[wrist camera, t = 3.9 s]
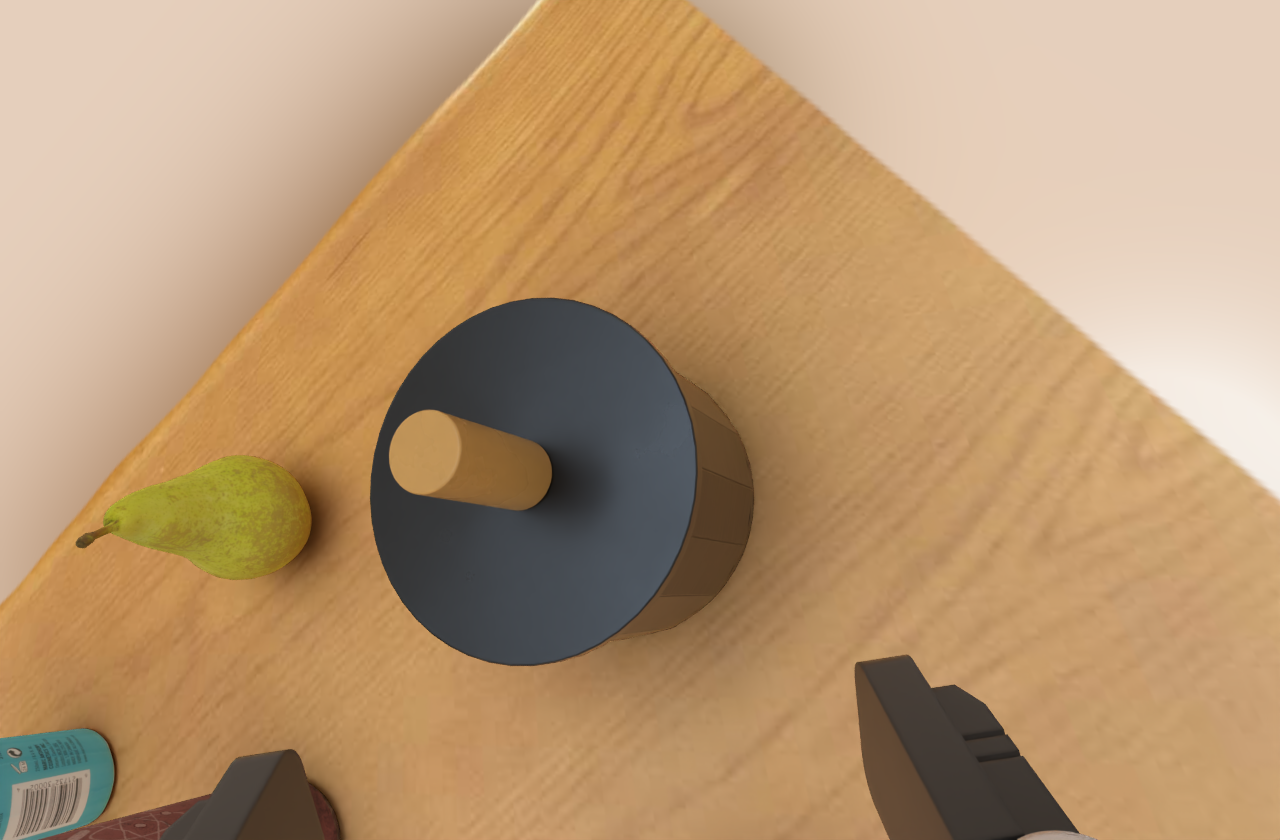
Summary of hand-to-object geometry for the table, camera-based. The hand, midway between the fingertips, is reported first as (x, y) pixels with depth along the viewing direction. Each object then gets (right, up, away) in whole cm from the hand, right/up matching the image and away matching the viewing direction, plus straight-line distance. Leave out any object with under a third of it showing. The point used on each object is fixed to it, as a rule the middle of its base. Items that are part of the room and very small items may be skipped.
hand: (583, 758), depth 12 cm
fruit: (-17, 0, +32) cm, 36 cm away
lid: (-3, +3, +17) cm, 18 cm away
